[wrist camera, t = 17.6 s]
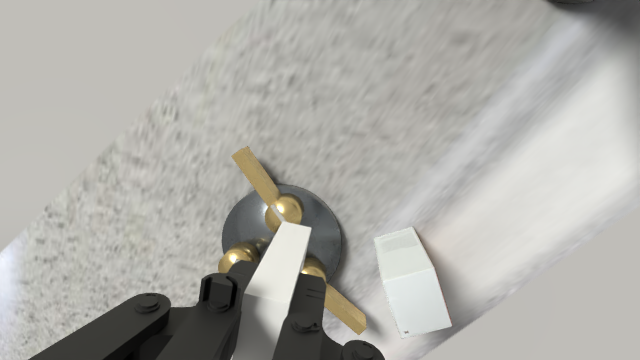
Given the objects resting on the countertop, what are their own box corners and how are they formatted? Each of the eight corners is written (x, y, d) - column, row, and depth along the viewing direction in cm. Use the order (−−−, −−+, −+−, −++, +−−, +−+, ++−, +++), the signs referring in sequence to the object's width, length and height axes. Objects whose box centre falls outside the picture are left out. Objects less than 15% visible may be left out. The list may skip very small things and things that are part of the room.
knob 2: (310, 213, 49) (307, 224, 45) (283, 230, 50) (278, 242, 46) (258, 139, 47) (249, 143, 43) (231, 157, 48) (220, 163, 44)
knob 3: (288, 272, 51) (282, 287, 47) (309, 251, 50) (305, 264, 46) (350, 325, 52) (351, 344, 48) (372, 305, 51) (374, 323, 47)
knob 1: (232, 237, 51) (222, 249, 46) (262, 248, 51) (255, 261, 46) (212, 308, 54) (200, 325, 50) (240, 318, 54) (231, 336, 50)
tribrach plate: (235, 172, 51) (212, 187, 42) (353, 198, 50) (354, 219, 42) (219, 278, 55) (195, 310, 46) (327, 303, 54) (323, 341, 46)
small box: (428, 272, 52) (454, 328, 39) (388, 283, 53) (400, 341, 40) (413, 224, 50) (435, 266, 38) (372, 236, 51) (380, 282, 39)
